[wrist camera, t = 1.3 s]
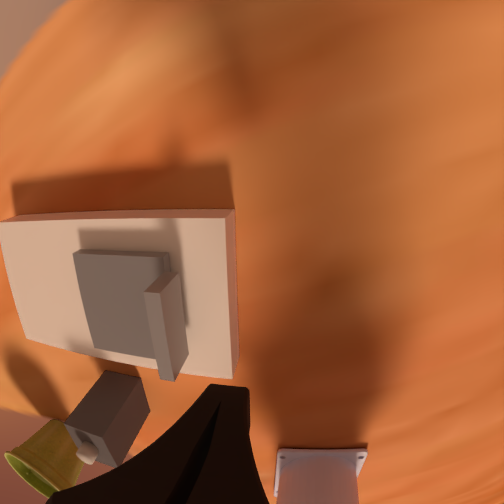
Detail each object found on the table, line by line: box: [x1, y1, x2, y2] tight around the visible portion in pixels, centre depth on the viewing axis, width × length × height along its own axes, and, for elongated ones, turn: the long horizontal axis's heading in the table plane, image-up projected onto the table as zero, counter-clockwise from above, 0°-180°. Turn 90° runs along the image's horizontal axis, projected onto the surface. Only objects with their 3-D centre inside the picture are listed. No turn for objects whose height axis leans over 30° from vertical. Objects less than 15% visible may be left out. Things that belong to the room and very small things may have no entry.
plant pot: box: [4, 419, 84, 498], centre depth 25 cm, size 9×9×9 cm
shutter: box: [72, 249, 189, 382], centre depth 16 cm, size 6×7×3 cm
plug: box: [64, 370, 150, 468], centre depth 20 cm, size 4×4×8 cm
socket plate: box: [0, 209, 239, 379], centre depth 20 cm, size 10×18×2 cm, turn 91°
